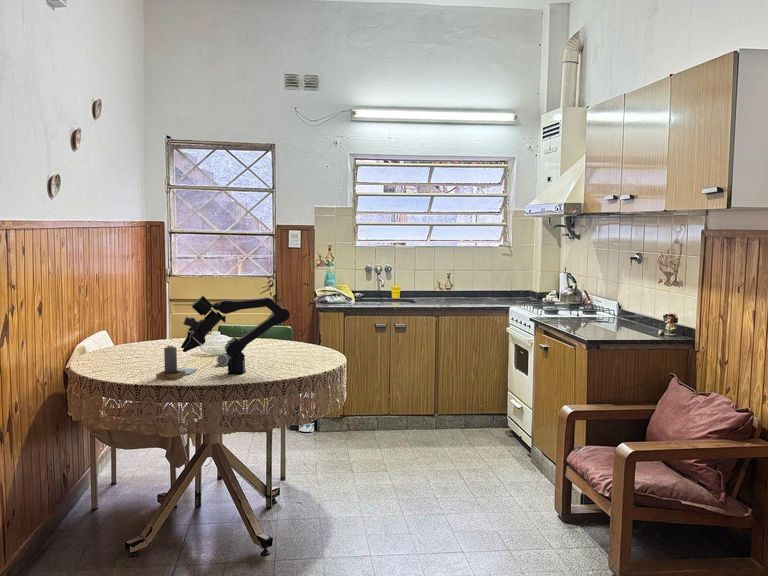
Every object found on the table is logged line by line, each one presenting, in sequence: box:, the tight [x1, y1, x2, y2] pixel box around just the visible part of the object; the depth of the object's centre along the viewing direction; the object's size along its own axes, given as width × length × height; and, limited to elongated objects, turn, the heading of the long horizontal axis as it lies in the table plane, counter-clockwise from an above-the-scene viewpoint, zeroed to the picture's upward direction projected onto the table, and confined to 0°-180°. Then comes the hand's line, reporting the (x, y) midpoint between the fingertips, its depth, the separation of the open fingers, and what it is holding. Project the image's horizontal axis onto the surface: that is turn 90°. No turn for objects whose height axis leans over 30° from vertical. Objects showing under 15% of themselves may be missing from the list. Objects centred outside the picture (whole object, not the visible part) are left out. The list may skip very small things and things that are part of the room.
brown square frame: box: [155, 369, 186, 381], centre depth 300 cm, size 9×9×2 cm
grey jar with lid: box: [163, 344, 178, 374], centre depth 300 cm, size 5×5×14 cm
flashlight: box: [216, 352, 231, 367], centre depth 333 cm, size 15×5×5 cm, turn 164°
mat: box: [177, 367, 198, 376], centre depth 310 cm, size 10×10×1 cm
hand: (182, 349), depth 301 cm, fingers open, 9 cm apart
